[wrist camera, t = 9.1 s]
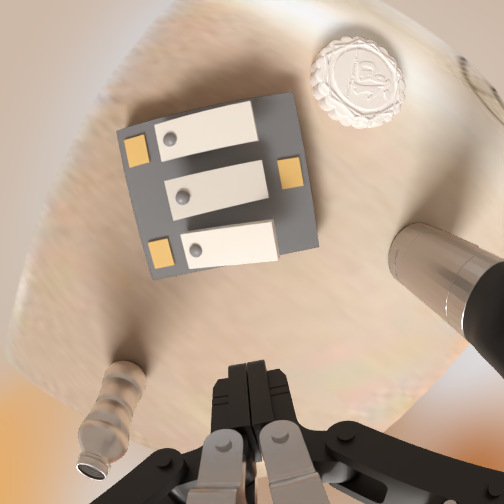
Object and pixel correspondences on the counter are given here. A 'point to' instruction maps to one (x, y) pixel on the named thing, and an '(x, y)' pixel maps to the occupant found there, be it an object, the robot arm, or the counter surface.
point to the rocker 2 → (231, 244)
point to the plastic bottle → (110, 420)
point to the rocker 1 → (206, 131)
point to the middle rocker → (216, 189)
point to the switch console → (266, 149)
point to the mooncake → (357, 82)
